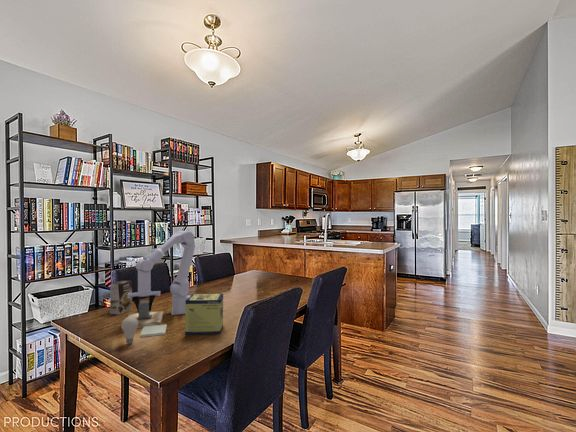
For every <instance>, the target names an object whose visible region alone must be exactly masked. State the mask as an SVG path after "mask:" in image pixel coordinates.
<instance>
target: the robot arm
mask: <svg viewBox="0 0 576 432" xmlns="http://www.w3.org/2000/svg"><path fill="white" fill-rule="evenodd" d="M195 237H196V235H195V234H194V233H193V231H190V230H177V231H175V232H174V233H173V234H172V235H171V236H170V237H169V238H168V239H167V240H166V241H165V242H164V243H163V244H162V245H160V246H159V248H152V249H151V250H150V252H149V253H148V254H146V256H143V258H141V259H138V260H137V261H136V265H135V268H136V270H137V291H136V292H132V293H128V298H132V302H133V304H134V305H135V308H136V311H137V312H136V313H139V302H140V301H141V300H140V299H141V298H143V297H149V298H148V301H149V311H150V312H152V307H153V304H154V303H153V302H154V300H155V299H156V297H160V296H161V290H156V291H155V290H153V291H152V290H151V289H152V279H151V278H152V277H151V276H152V275H151V272H152V271H151V270H153V268H154V265H155V264H157V262H159V261H160V260H162V258H163V257H164V254H165V252H168V250H170V249H171V248H173V247H174V246H175V245H177V244H180V245H181V246H182V247H183V252H182V257H181V260H180V262H179V263H180V264H179V267H178V271H177V276H176V277H175V278H174V279H173V280H172V283H171V285H170V286H169V290H170V293H171V294H172V295H171V297H172V298H171V301H172V305H171V306H172V309H171V314H170V315H171V316H175V315H185V303H186V299H188V298H189V296H190V295H191V294H189V292H190V282H189V279H188V276H189V273H190V269H191V266H192V261H193V257H194V255H195V254H194V253H195V249H196V242H195Z"/></svg>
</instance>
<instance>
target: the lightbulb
mask: <svg viewBox="0 0 576 432" xmlns="http://www.w3.org/2000/svg"><path fill="white" fill-rule="evenodd" d="M137 326H138V321H137V319H136V318H134V317H128V316H126V317H125V318H124V319H123V320H122V322H121V325H120V327H121V330H122V332H123V333H124V336H125V342H126V344H128V345H131V344H132V343H133V342H134V338H135V333H136V331H137V329H138V328H137Z"/></svg>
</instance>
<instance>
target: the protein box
mask: <svg viewBox="0 0 576 432" xmlns="http://www.w3.org/2000/svg"><path fill="white" fill-rule="evenodd" d="M189 295H190V296H189V298H188V299H186V303H185V314H184V315H185V323H184V326H185V327H184V335H185V336H196V335H197V336H202V335H203V336H204V335H209V334H213V335H220V334H221V332H222V329H223V327H224V293H199V294H198V293H192V294H189Z"/></svg>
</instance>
